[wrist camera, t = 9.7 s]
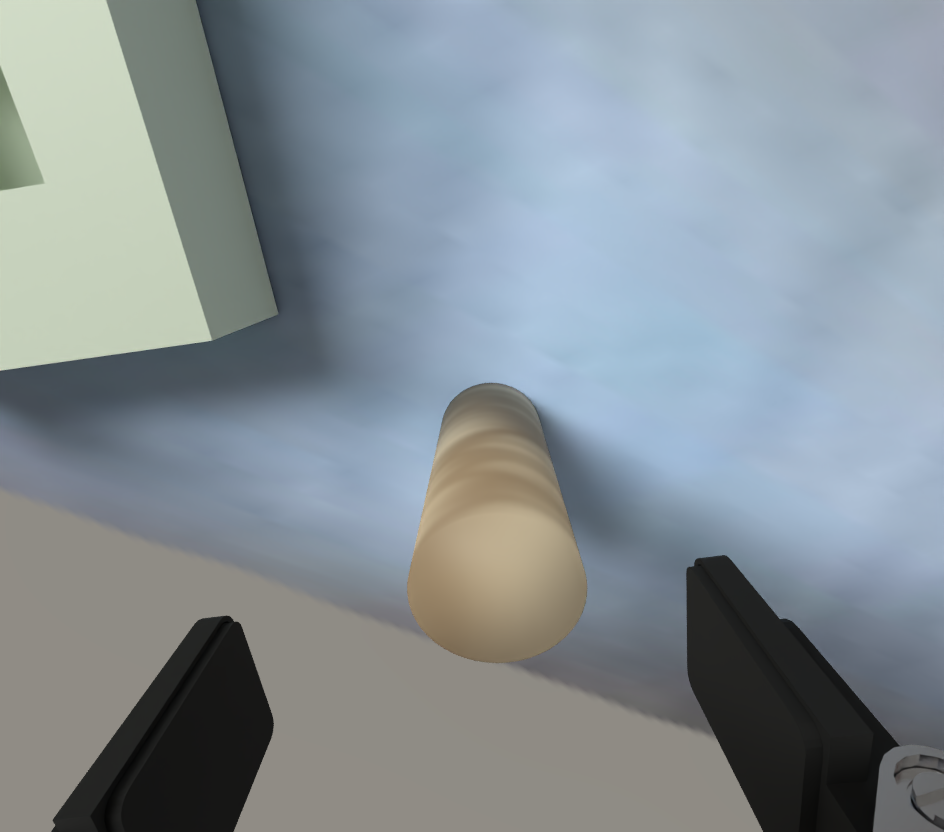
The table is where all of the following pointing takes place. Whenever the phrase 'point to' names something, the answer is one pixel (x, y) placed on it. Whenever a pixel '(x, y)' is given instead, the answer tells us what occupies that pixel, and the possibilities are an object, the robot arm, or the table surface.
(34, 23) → the socket block
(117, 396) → the table surface
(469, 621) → the wooden dowel
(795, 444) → the table surface
